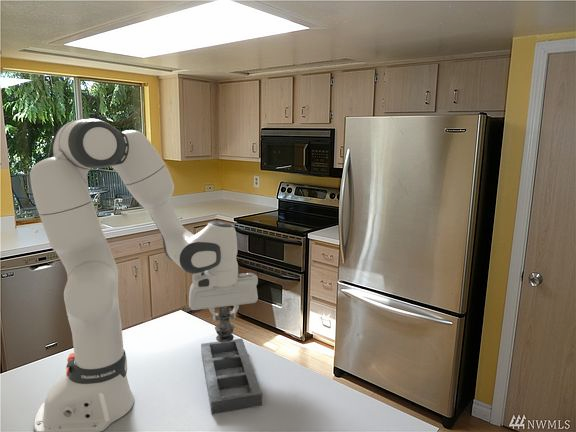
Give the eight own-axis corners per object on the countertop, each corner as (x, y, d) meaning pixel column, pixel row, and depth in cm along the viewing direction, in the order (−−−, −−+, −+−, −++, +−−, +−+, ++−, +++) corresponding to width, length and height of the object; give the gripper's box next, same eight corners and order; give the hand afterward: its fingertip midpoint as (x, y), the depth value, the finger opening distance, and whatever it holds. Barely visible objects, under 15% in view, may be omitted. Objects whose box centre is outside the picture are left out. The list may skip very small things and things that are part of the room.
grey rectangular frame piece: (211, 414, 105) (211, 402, 104) (201, 353, 132) (201, 343, 131) (262, 405, 109) (262, 393, 108) (242, 348, 135) (242, 338, 135)
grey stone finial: (233, 343, 124) (232, 305, 122) (213, 342, 125) (211, 305, 122) (236, 333, 130) (235, 297, 127) (217, 332, 130) (215, 297, 128)
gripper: (255, 268, 128) (256, 309, 132) (187, 275, 123) (189, 318, 126) (260, 275, 123) (260, 319, 126) (188, 283, 117) (190, 328, 120)
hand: (224, 318), depth 126 cm, fingers closed on grey stone finial, 4 cm apart
